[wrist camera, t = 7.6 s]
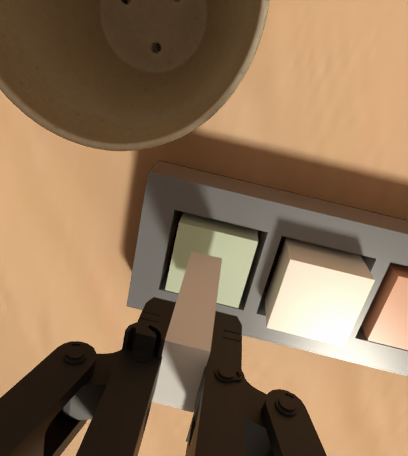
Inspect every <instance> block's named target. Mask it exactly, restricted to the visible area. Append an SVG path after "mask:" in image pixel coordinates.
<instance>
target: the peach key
mask: <svg viewBox="0 0 408 456" xmlns="http://www.w3.org/2000/svg"><path fill="white" fill-rule="evenodd" d="M361 327H362V329H363V331H364V333H365V336H366V338H367V340H368V341H372V342H376V343H380V344H384V345H388V346H393V347H397V348H401V349H405V350H408V266H404V265H399V264H395V263H391V262H390V264H389V266H388V269H387V271H386V273H385V275H384V277H383V279H382V281H381V283H380V286H379V288H378V290H377V292H376V294H375V296H374V298H373V300H372V303H371V305H370V307H369V309H368V311H367V313H366V315H365V318H364V320H363V322H362V324H361Z"/></svg>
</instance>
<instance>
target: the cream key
mask: <svg viewBox="0 0 408 456" xmlns="http://www.w3.org/2000/svg"><path fill="white" fill-rule="evenodd" d="M374 282H375V279H374V277H373V276H372V274H371V272H370V271H369V269H368V267H367V266H366V264H365V262H364V260H363V259H362V257H361V256H359V255H355V254H351V253H347V252H343V251H339V250H335V249H331V248H327V247H322V246H318V245H314V244H310V243H306V242H302V241H298V240H294V239H290V238H285V241H284V244H283V247H282V250H281V253H280V256H279V259H278V262H277V265H276V268H275V271H274V274H273V277H272V280H271V283H270V286H269V289H268V292H267V295H266V298H265V312H266V328H269V329H273V330H277V331H281V332H285V333H289V334H293V335H297V336H301V337H305V338H309V339H313V340H317V341H321V342H325V343H330V344H334V345H338V346H342V347H345V344H346V342H347V340H348V338H349V336H350V334H351V331H352V329H353V327H354V325H355V323H356V321H357V318H358V316H359V314H360V312H361V310H362V308H363V305H364V303H365V301H366V299H367V297H368V295H369V292H370V290H371V288H372V286H373V284H374Z"/></svg>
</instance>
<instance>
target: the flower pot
mask: <svg viewBox="0 0 408 456" xmlns="http://www.w3.org/2000/svg"><path fill="white" fill-rule="evenodd" d="M127 1H128V4H125V3H124V2H123V1H122V0H0V90H1V91H2V92H3V93H4V94H5V95H6V97H7V98H8V99H9V100H10V101H11V102H12V103H13V104H14V105H15V106H17V107H18V108H19V109H20V110H21V111H22V112H23V113H24V114H26V115H27V116H28V117H29V118H31V119H32V120H34V121H35V122H36V123H38V124H39V125H41V126H42V127H44V128H45V129H47V130H49V131H51V132H53V133H54V134H56V135H58V136H60V137H62V138H65V139H67V140H69V141H72V142H75V143H78V144H81V145H84V146H88V147H92V148H96V149H103V150H110V151H133V150H142V149H148V148H152V147H157V146H160V145H163V144H166V143H169V142H172V141H174V140H176V139H179V138H181V137H183V136H185V135H186V134H188V133H190V132H191V131H193V130H195V129H196V128H198V127H199V126H200V125H202V124H203V123H205V122H206V121H207V120H208V119H210V118H211V117H212V116H213V115H214V114H215V113H216V112H217V111H218V110H219V109H220V108H221V107H222V106H223V105H224V104H225V102H226V101H227V100H228V99H229V98H230V97H231V95H232V94H233V93H234V91H235V90H236V88H237V87H238V85H239V84H240V82H241V81H242V79H243V77H244V76H245V74H246V72H247V70H248V68H249V66H250V64H251V62H252V60H253V58H254V55H255V53H256V51H257V48H258V45H259V42H260V39H261V36H262V33H263V30H264V25H265V21H266V17H267V13H268V7H269V0H127ZM158 43H159V45H160V47H161V49H160V51H159V50H158V49H157V44H158Z"/></svg>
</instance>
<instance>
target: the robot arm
mask: <svg viewBox="0 0 408 456" xmlns="http://www.w3.org/2000/svg"><path fill="white" fill-rule="evenodd" d="M221 263H222V258H218V257H214V256H210V255H206V254H202V253H198V252H193V251H191V254H190V258H189V261H188V264H187V268H186V271H185V274H184V278H183V281H182V284H181V288H180V291H179V294H178V298H177V301H176V302H173V301H168V300H164V299H160V298H156V297H153V298H152V299H150V300H149V301H148V302H146V304H145V306H144V308H143V311H142V313H141V315H140V318H139V320H138V322H137V323H134V324H132V325H130V326H128V328H127V329H126V330H125V336H124V342H123V348H122V350H120V351H118V352H115V353H109V354H96V352H95V350H94V348H93V347H92V346H90V345H89V344H87V343H83V342H68V343H65V344H63V345H61V346H59V347H58V348H56V349H55V350H54V351H53V352H52V353H51V354H50V355H49V356H47V357H46V358H45V359H44V360H43V361H42V362H41V363H40V364H38V365H37V366H36V367H35V368H34V369H33V370H32V371H31V372H29V373H28V374H27V375H26V376H25V377H24V378H23V379H22V380H20V381H19V382H18V383H17V384H16V385H15V386H14V387H12V388H11V389H10V390H9V391H8V392H7V393H6V394H5V395H3V396H2V397H1V398H0V456H60V455H61V454H62V452H63V451H64V450H65V449H66V447H67V446H68V445H69V443H70V442H71V441H72V440H73V438H74V437H75V436H76V435H77V433H78V432H79V431H80V429H81V428H82V427H83V426H84V424H85V423H86V421H87V420H88V419H92V420H91V422H90V425H89V427H88V429H87V431H86V434H85V436H84V438H83V441H82V443H81V445H80V448H79V450H78V452H77V454H76V456H138V452H139V448H140V445H141V441H142V438H143V434H144V430H145V427H146V423H147V419H148V416H149V411H150V407H151V403H152V402H153V403H157V404H161V405H166V406H170V407H174V408H178V409H182V410H186V411H190V412H194V415H193V418H192V422H191V425H190V429H189V432H188V436H187V439H186V441H187V442H188V444H187V450H186V456H327V455H326V453H325V451H324V448H323V446H322V444H321V442H320V439H319V437H318V435H317V432H316V430H315V428H314V426H313V423H312V421H311V419H310V416H309V414H308V412H307V410H306V407H305V406H304V404H303V403H302V401H301V400H300V399H299V398H298V397H297V396H295V395H294V394H292V393H290V392H288V391H285V390H281V389H278V390H272V391H271V392H269V393H268V394H265V393H263V392H261V391H259V390H257V389H256V388H254V387H253V386H251V385H250V384H249V383H248V382H247V381H246V379H245V377H244V374H243V372H242V369H241V359H242V343H241V342H242V324H241V322H240V321H239V319H238V317H237V316H234V315H230V314H226V313H222V312H218V311H216V303H217V295H218V287H219V279H220V271H221Z"/></svg>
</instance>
